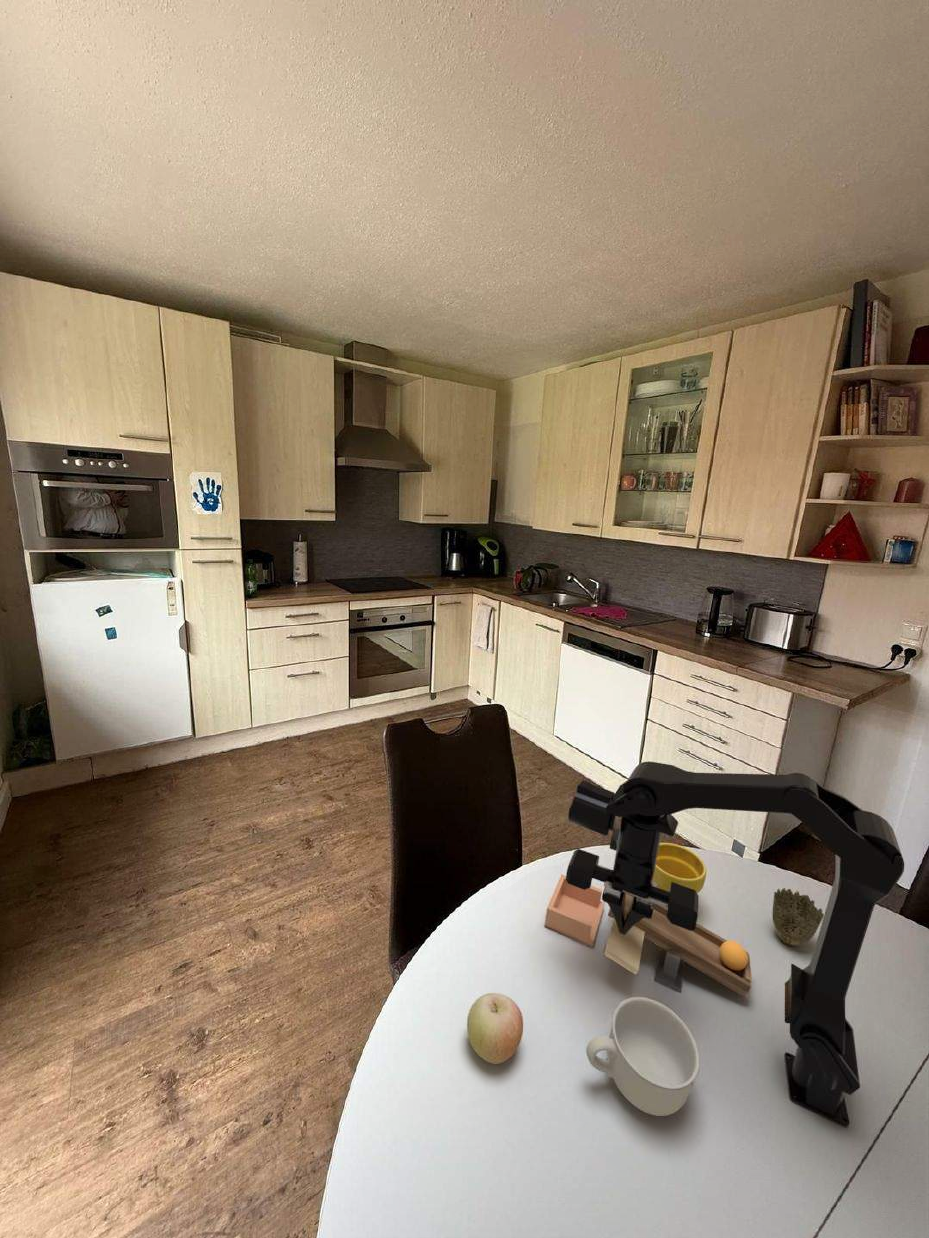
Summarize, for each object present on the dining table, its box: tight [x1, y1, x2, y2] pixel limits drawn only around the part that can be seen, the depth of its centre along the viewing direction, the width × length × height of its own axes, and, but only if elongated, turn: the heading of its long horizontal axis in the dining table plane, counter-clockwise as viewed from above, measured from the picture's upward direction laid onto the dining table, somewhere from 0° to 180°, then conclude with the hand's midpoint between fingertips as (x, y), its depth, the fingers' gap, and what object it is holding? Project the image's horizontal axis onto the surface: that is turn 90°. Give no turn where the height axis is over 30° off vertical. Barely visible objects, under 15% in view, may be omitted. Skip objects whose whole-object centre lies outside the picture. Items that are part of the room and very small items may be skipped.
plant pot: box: [653, 842, 707, 894], centre depth 97 cm, size 10×10×10 cm
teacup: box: [586, 996, 700, 1117], centre depth 66 cm, size 14×11×8 cm
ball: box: [720, 940, 748, 970], centre depth 81 cm, size 4×4×4 cm
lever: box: [604, 893, 753, 998], centre depth 81 cm, size 15×22×3 cm
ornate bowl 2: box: [771, 887, 825, 948], centre depth 91 cm, size 8×7×8 cm
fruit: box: [466, 992, 524, 1065], centre depth 69 cm, size 8×7×8 cm
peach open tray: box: [544, 874, 606, 949], centre depth 92 cm, size 10×9×4 cm
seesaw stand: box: [653, 946, 685, 993], centre depth 86 cm, size 12×4×5 cm, turn 154°
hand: (622, 931), depth 79 cm, fingers closed
